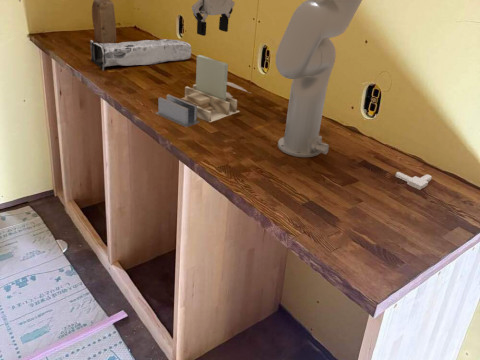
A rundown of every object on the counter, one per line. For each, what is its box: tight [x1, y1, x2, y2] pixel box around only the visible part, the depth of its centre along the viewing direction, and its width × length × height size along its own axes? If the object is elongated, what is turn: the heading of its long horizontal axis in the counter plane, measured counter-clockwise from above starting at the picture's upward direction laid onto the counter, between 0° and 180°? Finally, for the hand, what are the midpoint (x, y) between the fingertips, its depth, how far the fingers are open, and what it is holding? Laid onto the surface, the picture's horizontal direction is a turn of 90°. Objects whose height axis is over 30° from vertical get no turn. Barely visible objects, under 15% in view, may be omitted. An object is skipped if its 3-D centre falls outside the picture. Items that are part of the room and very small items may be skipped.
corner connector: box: [395, 171, 432, 191], centre depth 125 cm, size 8×8×2 cm
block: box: [91, 0, 117, 44], centre depth 210 cm, size 11×8×20 cm
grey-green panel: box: [195, 54, 229, 101], centre depth 153 cm, size 12×2×15 cm, turn 49°
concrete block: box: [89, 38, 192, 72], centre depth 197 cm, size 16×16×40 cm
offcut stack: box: [180, 93, 213, 113], centre depth 152 cm, size 10×5×4 cm, turn 49°
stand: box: [154, 94, 200, 128], centre depth 145 cm, size 14×6×6 cm, turn 49°
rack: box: [166, 83, 241, 123], centre depth 154 cm, size 20×14×6 cm
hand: (212, 32), depth 146 cm, fingers open, 9 cm apart
